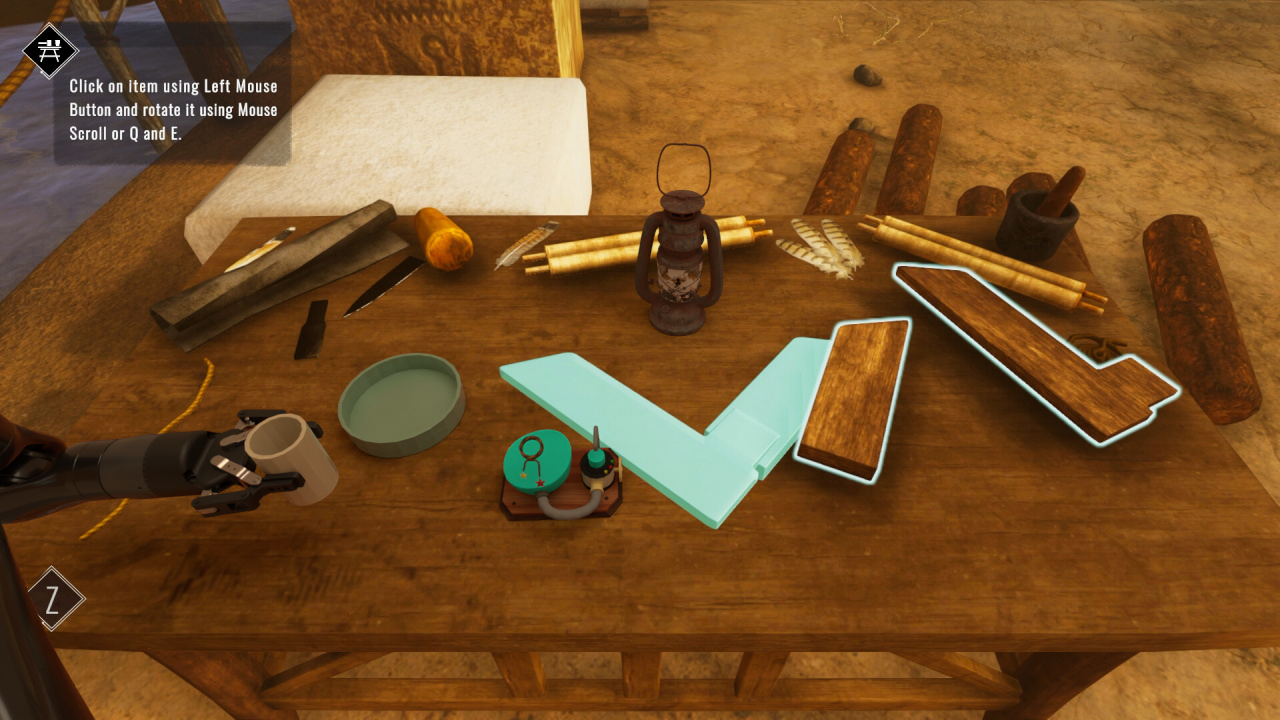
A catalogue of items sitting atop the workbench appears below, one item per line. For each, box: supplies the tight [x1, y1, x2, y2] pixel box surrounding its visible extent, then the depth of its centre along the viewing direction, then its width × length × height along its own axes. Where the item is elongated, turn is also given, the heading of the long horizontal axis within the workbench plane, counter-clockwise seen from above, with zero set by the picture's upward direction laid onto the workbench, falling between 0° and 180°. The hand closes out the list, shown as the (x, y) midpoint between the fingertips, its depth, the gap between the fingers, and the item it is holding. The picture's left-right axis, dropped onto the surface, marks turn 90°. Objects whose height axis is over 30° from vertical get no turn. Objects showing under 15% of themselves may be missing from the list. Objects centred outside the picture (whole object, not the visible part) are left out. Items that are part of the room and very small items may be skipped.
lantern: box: [634, 142, 724, 337], centre depth 99 cm, size 11×16×35 cm
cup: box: [245, 413, 340, 507], centre depth 69 cm, size 6×6×10 cm
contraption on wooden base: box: [498, 425, 624, 522], centre depth 79 cm, size 14×18×15 cm
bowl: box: [337, 352, 467, 459], centre depth 94 cm, size 19×19×4 cm
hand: (311, 453), depth 68 cm, fingers closed on cup, 6 cm apart
